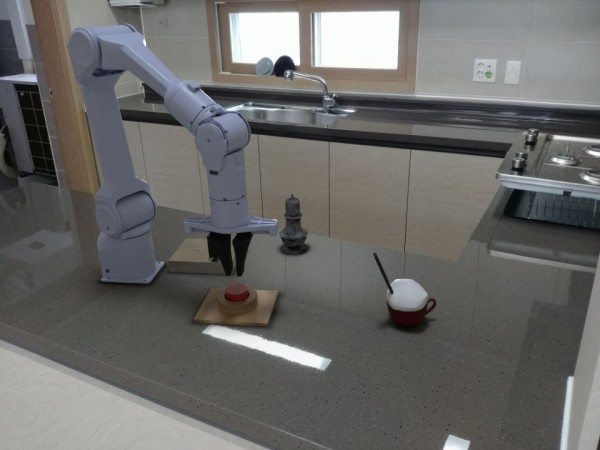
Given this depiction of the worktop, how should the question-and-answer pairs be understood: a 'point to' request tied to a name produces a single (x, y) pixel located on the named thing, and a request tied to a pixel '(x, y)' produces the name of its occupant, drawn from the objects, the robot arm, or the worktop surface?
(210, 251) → the knob
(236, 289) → the button
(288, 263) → the worktop surface
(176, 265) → the panel
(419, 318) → the cocoa
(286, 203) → the salt shaker
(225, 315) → the button block
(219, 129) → the robot arm
